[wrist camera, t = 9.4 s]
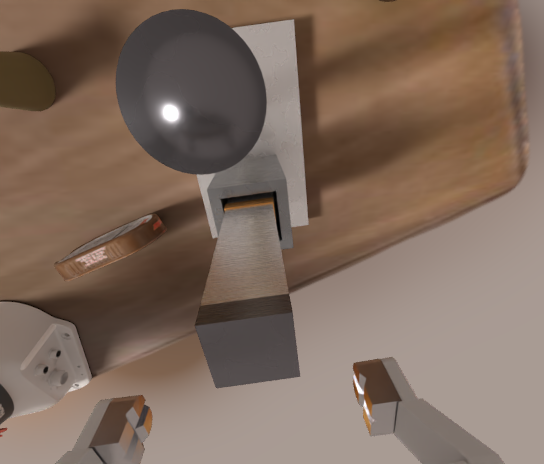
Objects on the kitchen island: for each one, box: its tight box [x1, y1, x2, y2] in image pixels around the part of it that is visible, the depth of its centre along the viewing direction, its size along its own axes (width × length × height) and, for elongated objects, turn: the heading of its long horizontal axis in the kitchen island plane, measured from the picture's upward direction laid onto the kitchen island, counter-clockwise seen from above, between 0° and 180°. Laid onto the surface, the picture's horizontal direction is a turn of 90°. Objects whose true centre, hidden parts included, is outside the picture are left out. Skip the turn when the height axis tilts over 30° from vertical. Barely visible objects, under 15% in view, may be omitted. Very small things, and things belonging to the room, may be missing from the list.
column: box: [195, 192, 300, 388], centre depth 21 cm, size 4×4×20 cm
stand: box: [116, 9, 308, 249], centre depth 22 cm, size 24×14×29 cm, turn 7°
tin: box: [54, 214, 167, 281], centre depth 36 cm, size 15×3×8 cm, turn 113°
